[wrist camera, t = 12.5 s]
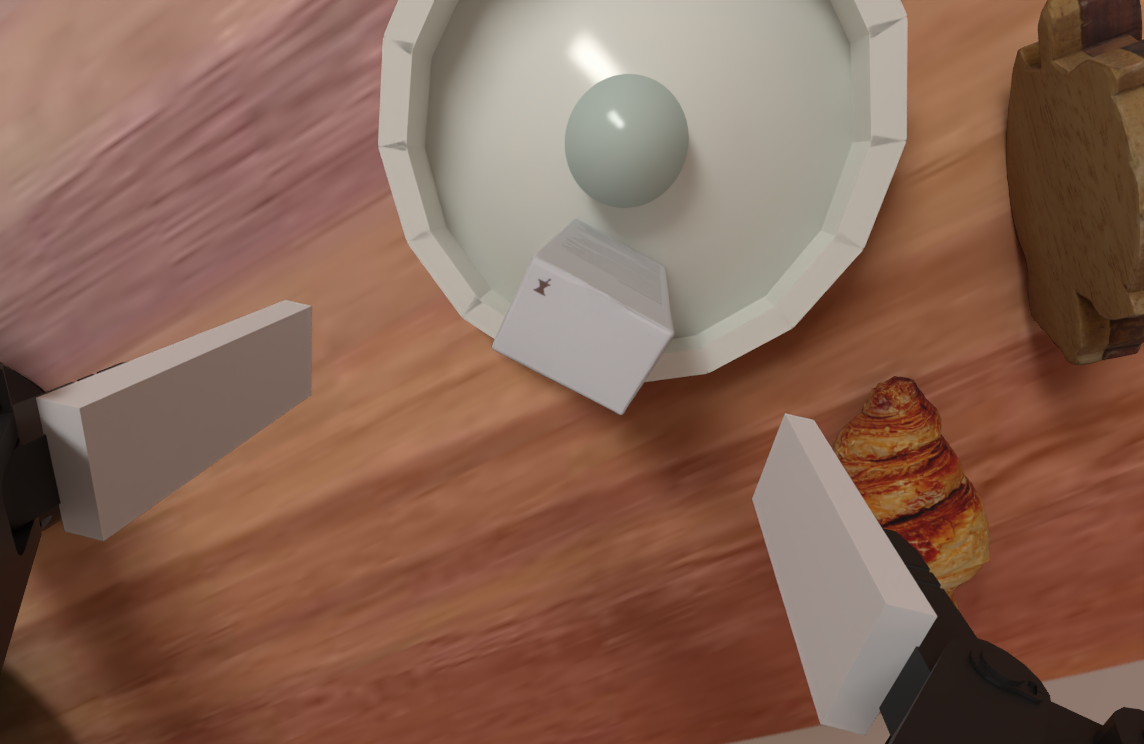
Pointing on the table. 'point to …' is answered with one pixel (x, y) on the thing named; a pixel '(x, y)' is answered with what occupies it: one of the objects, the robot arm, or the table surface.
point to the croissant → (916, 481)
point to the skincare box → (590, 316)
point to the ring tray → (735, 185)
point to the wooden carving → (1081, 175)
